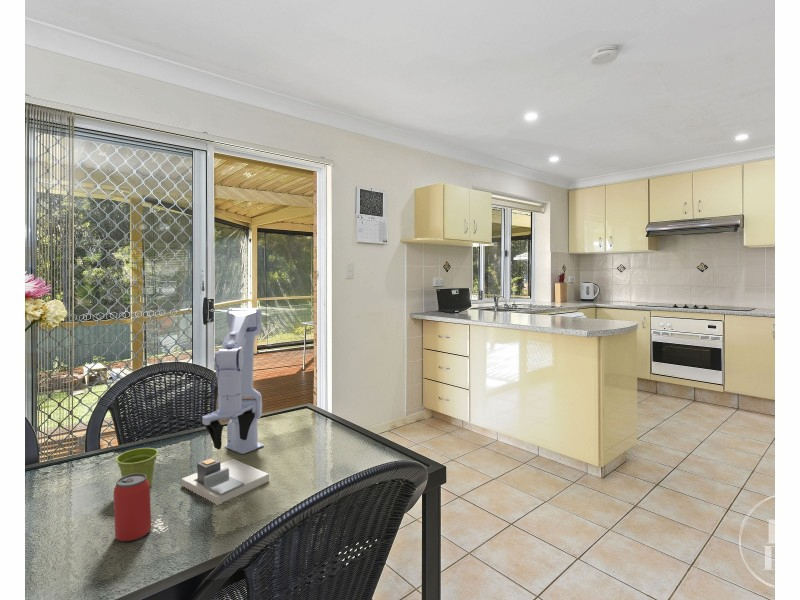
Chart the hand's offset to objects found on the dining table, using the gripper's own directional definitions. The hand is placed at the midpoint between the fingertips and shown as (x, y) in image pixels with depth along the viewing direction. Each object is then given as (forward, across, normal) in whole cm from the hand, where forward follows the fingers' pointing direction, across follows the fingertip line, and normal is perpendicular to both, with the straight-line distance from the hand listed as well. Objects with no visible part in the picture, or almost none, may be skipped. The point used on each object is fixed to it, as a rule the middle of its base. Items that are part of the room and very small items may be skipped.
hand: (230, 443), depth 119 cm
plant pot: (+10, -17, +15) cm, 25 cm away
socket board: (+10, -2, -1) cm, 10 cm away
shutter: (+8, -6, -6) cm, 11 cm away
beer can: (+10, -27, -5) cm, 29 cm away
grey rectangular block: (+9, -6, +1) cm, 11 cm away
